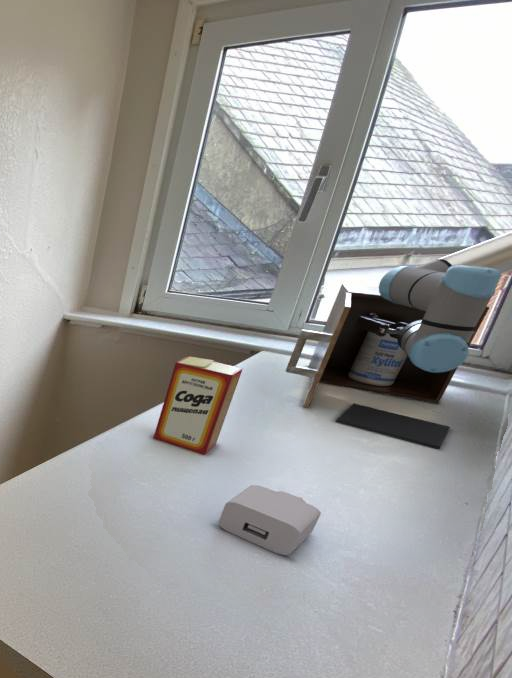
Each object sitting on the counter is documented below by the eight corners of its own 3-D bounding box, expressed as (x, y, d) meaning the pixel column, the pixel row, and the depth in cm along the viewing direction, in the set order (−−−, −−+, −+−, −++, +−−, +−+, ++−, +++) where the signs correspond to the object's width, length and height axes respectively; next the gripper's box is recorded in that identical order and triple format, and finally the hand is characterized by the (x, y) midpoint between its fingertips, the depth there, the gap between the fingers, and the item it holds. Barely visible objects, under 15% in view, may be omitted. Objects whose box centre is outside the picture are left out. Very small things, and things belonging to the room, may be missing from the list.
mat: (439, 449, 109) (440, 446, 109) (335, 421, 121) (336, 419, 120) (448, 429, 120) (450, 426, 119) (352, 405, 131) (353, 403, 131)
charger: (323, 523, 82) (288, 558, 74) (255, 496, 89) (216, 526, 80) (336, 496, 80) (301, 529, 72) (266, 471, 87) (227, 499, 78)
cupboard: (438, 404, 134) (489, 307, 124) (311, 381, 147) (348, 291, 137) (423, 385, 148) (468, 296, 138) (308, 366, 160) (342, 283, 150)
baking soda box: (215, 445, 107) (243, 366, 100) (204, 454, 102) (233, 373, 95) (165, 429, 113) (188, 354, 105) (153, 438, 108) (176, 360, 101)
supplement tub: (364, 386, 142) (390, 330, 136) (338, 374, 151) (361, 321, 144) (402, 388, 142) (430, 332, 136) (374, 376, 151) (398, 323, 144)
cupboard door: (273, 400, 132) (312, 302, 121) (283, 376, 150) (317, 289, 139) (308, 407, 128) (350, 307, 118) (314, 382, 146) (351, 293, 136)
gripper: (343, 346, 123) (335, 329, 139) (496, 369, 111) (468, 348, 127) (358, 312, 120) (348, 299, 136) (517, 333, 108) (486, 316, 124)
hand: (406, 323), depth 131 cm, fingers open, 13 cm apart
